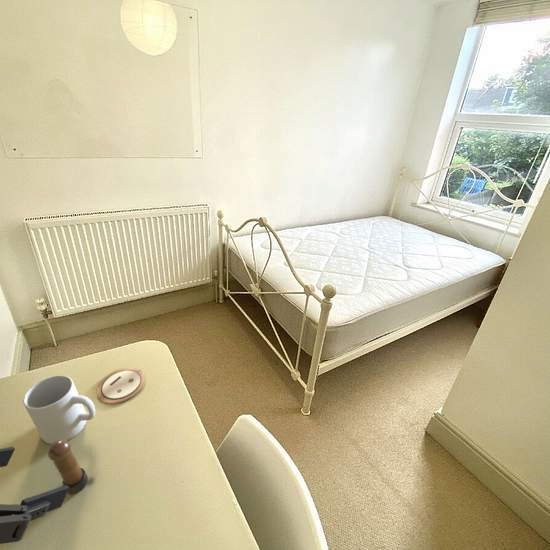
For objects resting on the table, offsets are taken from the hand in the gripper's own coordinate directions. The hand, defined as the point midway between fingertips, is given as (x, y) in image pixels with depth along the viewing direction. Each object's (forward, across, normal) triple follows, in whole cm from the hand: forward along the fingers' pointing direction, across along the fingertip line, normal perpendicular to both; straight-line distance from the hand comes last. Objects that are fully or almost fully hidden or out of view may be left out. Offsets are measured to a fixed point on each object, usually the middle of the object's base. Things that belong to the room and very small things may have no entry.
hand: (35, 474), depth 49 cm
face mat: (+24, -11, +10) cm, 28 cm away
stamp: (+10, 0, -4) cm, 11 cm away
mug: (+15, -12, +1) cm, 19 cm away
